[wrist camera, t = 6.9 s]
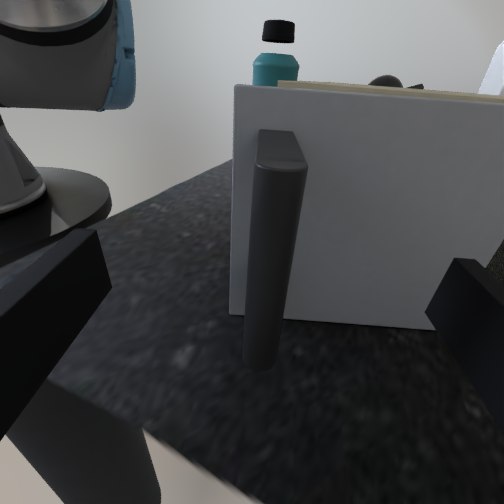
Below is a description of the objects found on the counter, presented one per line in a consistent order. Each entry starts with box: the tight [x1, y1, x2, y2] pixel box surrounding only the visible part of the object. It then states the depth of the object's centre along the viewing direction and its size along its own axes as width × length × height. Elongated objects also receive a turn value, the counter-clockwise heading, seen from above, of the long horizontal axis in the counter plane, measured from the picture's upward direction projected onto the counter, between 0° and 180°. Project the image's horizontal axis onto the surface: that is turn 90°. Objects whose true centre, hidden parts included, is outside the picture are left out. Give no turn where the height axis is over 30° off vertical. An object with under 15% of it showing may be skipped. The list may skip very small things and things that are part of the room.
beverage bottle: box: [253, 20, 299, 87], centre depth 40 cm, size 6×7×20 cm
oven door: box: [229, 84, 504, 371], centre depth 13 cm, size 7×15×14 cm, turn 87°
